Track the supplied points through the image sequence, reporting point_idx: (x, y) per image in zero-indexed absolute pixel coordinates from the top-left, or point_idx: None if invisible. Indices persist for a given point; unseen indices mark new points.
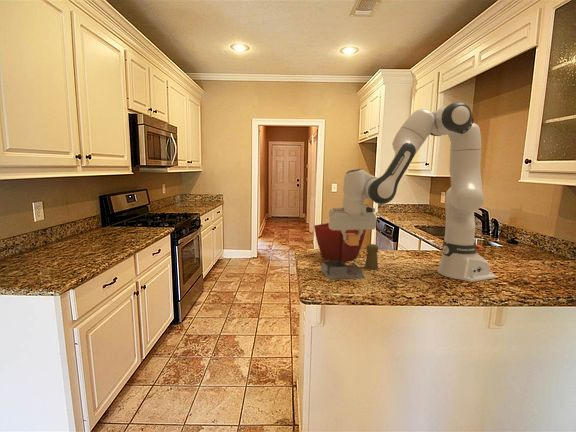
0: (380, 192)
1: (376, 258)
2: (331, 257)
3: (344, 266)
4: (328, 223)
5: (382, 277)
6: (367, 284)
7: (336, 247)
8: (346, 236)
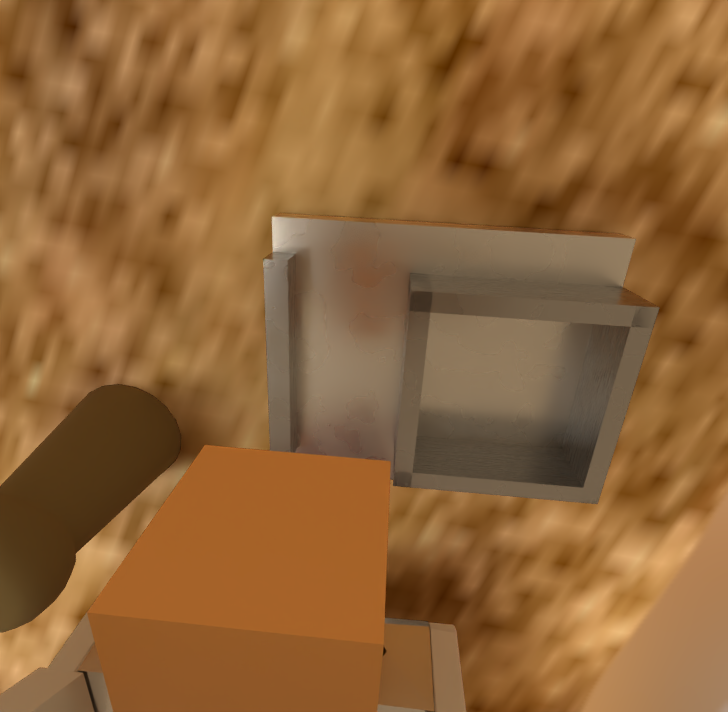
0: None
1: (35, 452)
2: None
3: (453, 310)
4: None
5: (104, 199)
6: (310, 36)
7: None
8: (419, 709)
